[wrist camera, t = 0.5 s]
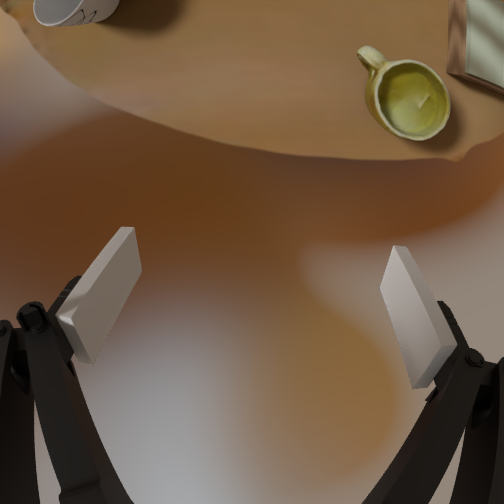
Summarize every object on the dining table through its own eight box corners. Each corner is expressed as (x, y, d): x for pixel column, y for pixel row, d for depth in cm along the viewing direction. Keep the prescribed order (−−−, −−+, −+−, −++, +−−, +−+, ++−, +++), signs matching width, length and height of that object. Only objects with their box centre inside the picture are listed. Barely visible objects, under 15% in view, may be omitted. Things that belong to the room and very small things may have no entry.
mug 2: (453, 113, 31) (468, 124, 24) (391, 142, 38) (389, 161, 30) (405, 32, 28) (406, 20, 21) (343, 66, 35) (328, 65, 28)
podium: (447, -15, 22) (465, -21, 18) (518, 21, 22) (537, 21, 17) (446, 73, 30) (465, 75, 26) (514, 100, 29) (534, 106, 25)
